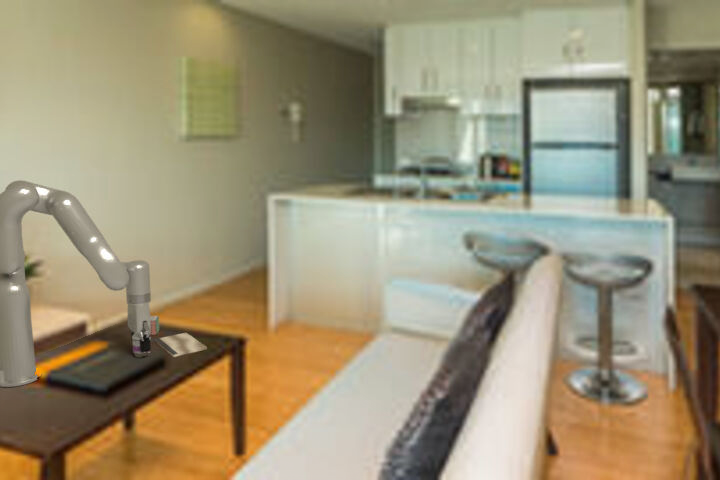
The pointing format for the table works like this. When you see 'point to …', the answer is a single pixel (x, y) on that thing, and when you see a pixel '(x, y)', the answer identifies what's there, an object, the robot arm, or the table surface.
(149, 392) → the table surface
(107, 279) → the robot arm
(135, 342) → the pill bottle
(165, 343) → the board
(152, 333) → the puzzle toy
